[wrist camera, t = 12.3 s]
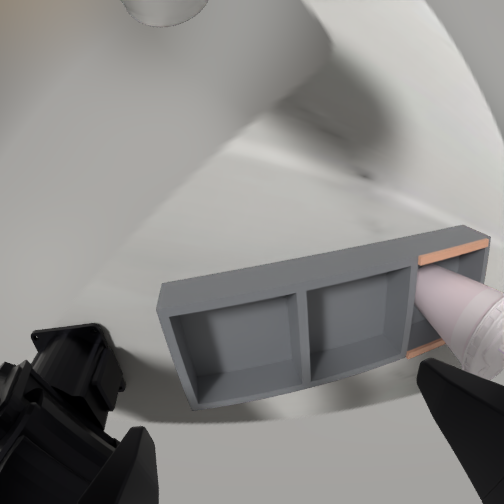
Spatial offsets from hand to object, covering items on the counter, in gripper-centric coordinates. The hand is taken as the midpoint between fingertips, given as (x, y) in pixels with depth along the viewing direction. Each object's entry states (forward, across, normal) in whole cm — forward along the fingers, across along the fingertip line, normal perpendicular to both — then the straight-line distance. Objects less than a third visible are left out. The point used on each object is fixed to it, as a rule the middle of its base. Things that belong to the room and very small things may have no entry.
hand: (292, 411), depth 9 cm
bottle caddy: (+13, -7, +5) cm, 16 cm away
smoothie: (+13, -15, +5) cm, 20 cm away
